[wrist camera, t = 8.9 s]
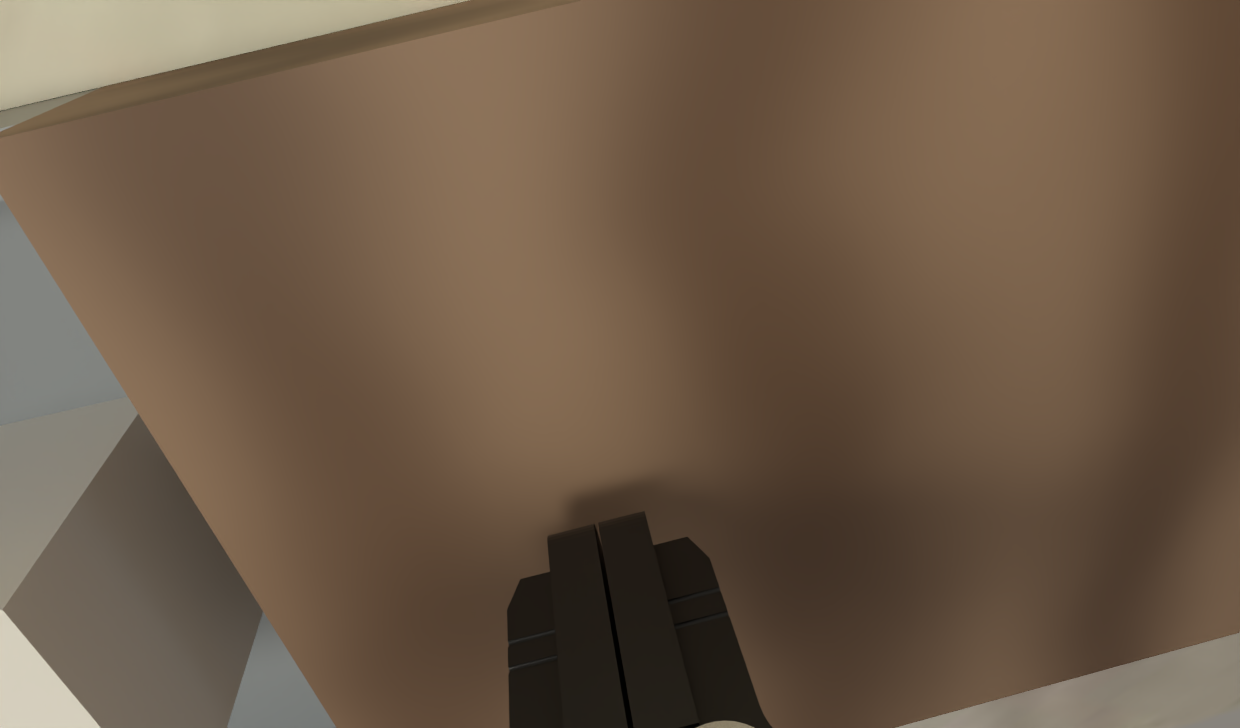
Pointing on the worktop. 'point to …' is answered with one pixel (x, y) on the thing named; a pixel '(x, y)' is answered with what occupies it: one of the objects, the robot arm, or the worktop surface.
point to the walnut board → (688, 329)
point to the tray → (79, 376)
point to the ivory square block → (111, 582)
